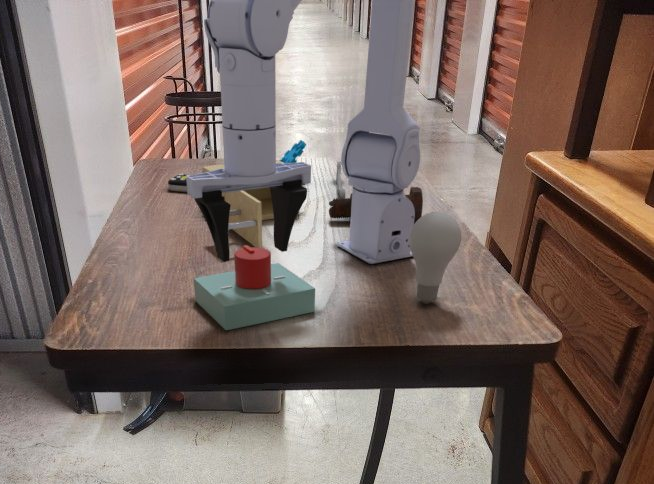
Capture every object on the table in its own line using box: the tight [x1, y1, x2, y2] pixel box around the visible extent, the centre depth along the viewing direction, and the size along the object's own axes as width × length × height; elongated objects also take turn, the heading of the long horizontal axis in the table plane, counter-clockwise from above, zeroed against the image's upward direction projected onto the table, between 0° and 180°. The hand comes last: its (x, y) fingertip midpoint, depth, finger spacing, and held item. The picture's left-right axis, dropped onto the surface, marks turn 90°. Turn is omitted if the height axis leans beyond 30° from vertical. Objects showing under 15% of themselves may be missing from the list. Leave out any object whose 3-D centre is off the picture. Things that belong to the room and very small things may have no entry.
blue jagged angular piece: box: [278, 139, 307, 163], centre depth 128 cm, size 11×6×10 cm
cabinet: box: [202, 158, 300, 221], centre depth 113 cm, size 10×14×7 cm
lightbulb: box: [409, 210, 462, 304], centre depth 81 cm, size 6×6×11 cm
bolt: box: [328, 186, 424, 224], centre depth 109 cm, size 6×5×15 cm
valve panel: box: [193, 262, 316, 331], centre depth 82 cm, size 10×12×3 cm
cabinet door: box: [226, 190, 263, 248], centre depth 101 cm, size 6×13×7 cm, turn 25°
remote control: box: [167, 173, 189, 193], centre depth 126 cm, size 6×13×2 cm, turn 73°
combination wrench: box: [335, 161, 346, 199], centre depth 124 cm, size 4×1×20 cm
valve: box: [233, 244, 272, 289], centre depth 80 cm, size 4×4×4 cm
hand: (252, 253), depth 79 cm, fingers open, 7 cm apart
